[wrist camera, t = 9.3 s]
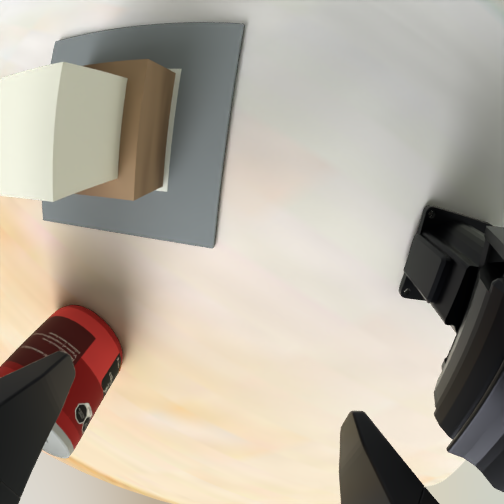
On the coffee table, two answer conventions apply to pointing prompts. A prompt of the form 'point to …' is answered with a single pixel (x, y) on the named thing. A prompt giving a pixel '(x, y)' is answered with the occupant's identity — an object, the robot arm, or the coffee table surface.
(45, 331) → the canned food
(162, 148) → the walnut base
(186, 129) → the building mat
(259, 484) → the coffee table surface
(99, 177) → the cream cube
